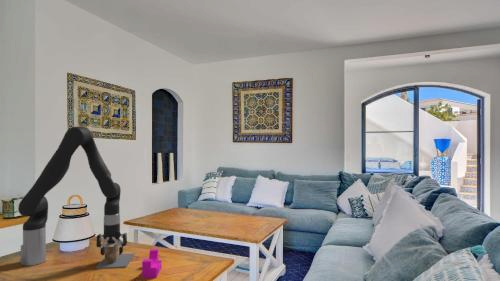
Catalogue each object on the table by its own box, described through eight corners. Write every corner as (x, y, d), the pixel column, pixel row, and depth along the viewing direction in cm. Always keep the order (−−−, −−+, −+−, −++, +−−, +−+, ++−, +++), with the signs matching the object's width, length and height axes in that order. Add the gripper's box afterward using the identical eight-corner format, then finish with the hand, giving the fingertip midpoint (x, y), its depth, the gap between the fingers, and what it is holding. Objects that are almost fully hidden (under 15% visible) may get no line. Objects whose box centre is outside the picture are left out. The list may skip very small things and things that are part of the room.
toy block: (156, 277, 132) (156, 261, 132) (142, 278, 131) (142, 261, 131) (163, 263, 146) (163, 248, 146) (150, 264, 146) (150, 249, 146)
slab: (104, 264, 144) (104, 245, 144) (110, 257, 152) (110, 240, 152) (113, 263, 145) (113, 245, 145) (118, 257, 153) (118, 239, 153)
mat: (95, 269, 140) (95, 267, 140) (107, 256, 156) (107, 254, 156) (125, 267, 142) (125, 266, 142) (134, 254, 158) (134, 253, 158)
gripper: (94, 225, 144) (94, 258, 144) (124, 224, 146) (124, 256, 146) (99, 221, 152) (100, 252, 152) (128, 220, 153) (128, 251, 153)
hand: (112, 254), depth 149 cm, fingers open, 8 cm apart
